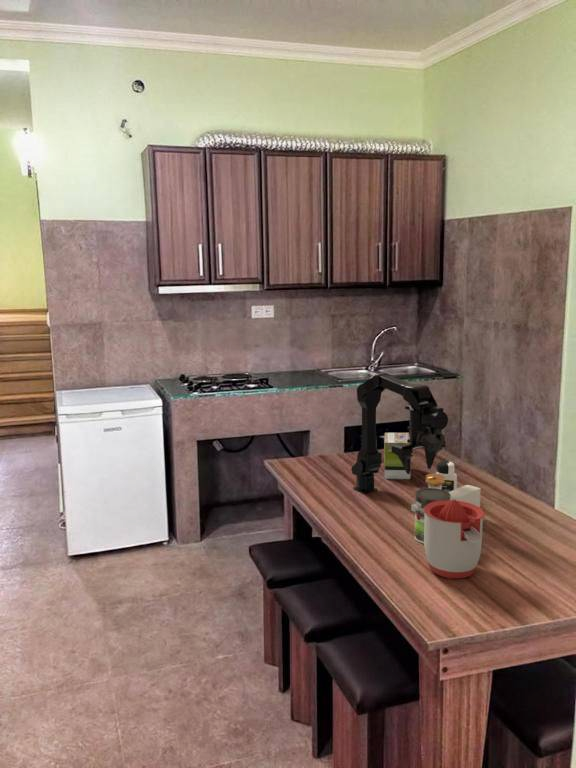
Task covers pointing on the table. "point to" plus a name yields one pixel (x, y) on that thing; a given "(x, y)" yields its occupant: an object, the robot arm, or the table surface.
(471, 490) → the knob mount
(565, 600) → the table surface
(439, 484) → the knob
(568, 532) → the table surface
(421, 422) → the robot arm
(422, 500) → the coffee can
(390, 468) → the tea box
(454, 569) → the citrus juicer
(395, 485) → the table surface
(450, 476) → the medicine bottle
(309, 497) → the table surface
